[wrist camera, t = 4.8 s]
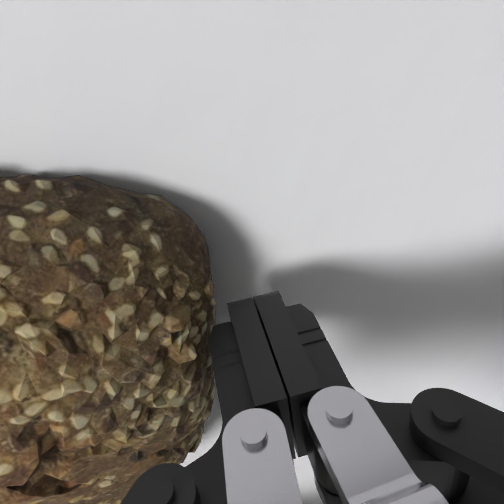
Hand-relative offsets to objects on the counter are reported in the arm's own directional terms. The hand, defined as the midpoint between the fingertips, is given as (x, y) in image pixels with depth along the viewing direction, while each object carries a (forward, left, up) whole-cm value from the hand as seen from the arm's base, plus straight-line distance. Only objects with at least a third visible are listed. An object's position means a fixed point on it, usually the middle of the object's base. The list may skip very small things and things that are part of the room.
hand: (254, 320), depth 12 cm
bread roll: (+7, 0, -2) cm, 8 cm away
